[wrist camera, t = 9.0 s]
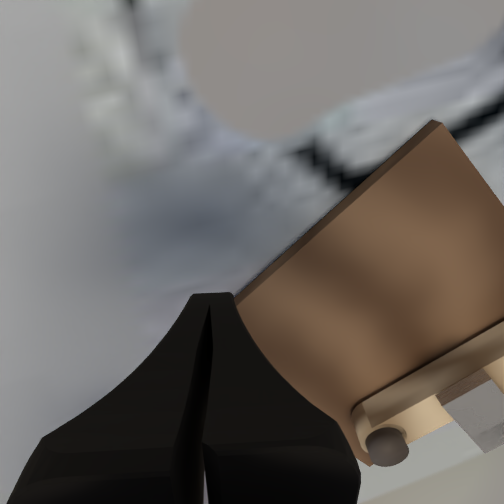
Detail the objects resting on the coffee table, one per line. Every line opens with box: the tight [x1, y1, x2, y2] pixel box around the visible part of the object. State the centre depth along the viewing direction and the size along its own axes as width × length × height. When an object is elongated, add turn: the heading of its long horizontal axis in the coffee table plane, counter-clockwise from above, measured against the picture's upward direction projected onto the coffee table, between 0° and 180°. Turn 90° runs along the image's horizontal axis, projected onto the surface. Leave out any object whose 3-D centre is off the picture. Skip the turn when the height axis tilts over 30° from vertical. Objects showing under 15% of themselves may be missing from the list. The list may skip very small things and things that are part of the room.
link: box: [351, 321, 504, 467], centre depth 23 cm, size 14×3×3 cm, turn 129°
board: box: [234, 120, 504, 467], centre depth 24 cm, size 18×18×1 cm
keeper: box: [435, 368, 504, 453], centre depth 23 cm, size 3×6×4 cm, turn 41°
